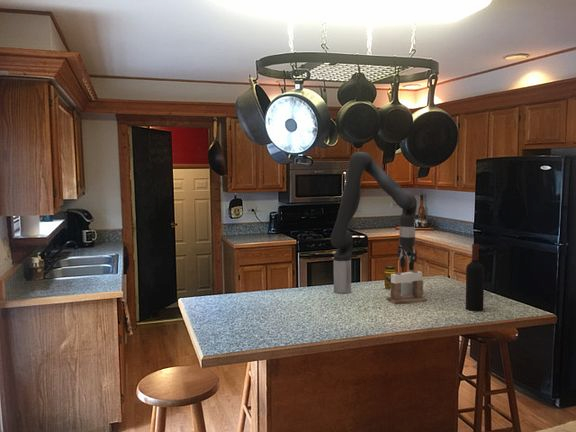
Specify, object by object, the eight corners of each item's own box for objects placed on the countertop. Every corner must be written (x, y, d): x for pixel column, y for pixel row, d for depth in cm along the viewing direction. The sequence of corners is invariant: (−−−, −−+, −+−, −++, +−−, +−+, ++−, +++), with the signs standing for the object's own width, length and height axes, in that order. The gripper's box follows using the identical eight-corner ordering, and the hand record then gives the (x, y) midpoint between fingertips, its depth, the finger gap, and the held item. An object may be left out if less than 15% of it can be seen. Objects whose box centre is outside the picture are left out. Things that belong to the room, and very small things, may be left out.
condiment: (390, 290, 258) (390, 268, 257) (378, 287, 265) (378, 266, 264) (399, 288, 263) (399, 266, 262) (387, 285, 270) (387, 264, 268)
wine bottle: (462, 309, 220) (463, 244, 218) (469, 305, 226) (470, 242, 223) (479, 312, 215) (480, 246, 213) (485, 308, 221) (487, 243, 218)
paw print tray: (404, 296, 245) (404, 280, 244) (392, 290, 257) (392, 274, 257) (423, 295, 248) (423, 278, 247) (410, 289, 260) (410, 273, 259)
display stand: (386, 299, 240) (386, 280, 240) (416, 296, 245) (416, 277, 244) (396, 304, 231) (396, 284, 230) (427, 301, 235) (427, 281, 235)
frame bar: (417, 278, 242) (417, 270, 241) (422, 280, 238) (422, 271, 238) (390, 282, 236) (390, 273, 235) (395, 283, 232) (395, 274, 232)
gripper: (421, 237, 229) (421, 270, 231) (406, 233, 243) (406, 265, 244) (407, 237, 227) (407, 271, 229) (393, 234, 241) (392, 266, 242)
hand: (406, 268), depth 237 cm, fingers open, 8 cm apart
